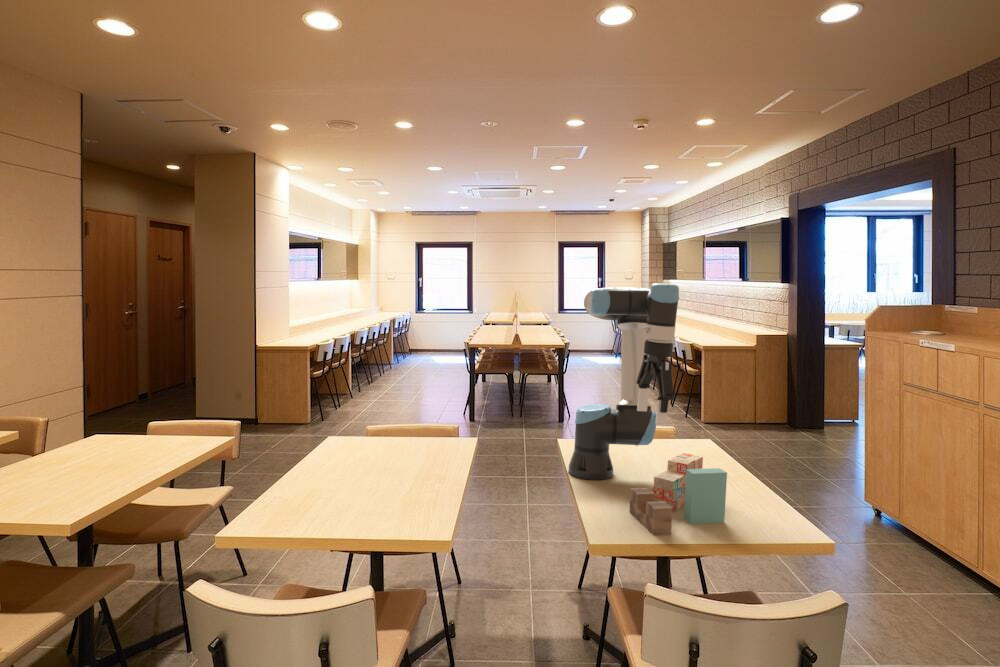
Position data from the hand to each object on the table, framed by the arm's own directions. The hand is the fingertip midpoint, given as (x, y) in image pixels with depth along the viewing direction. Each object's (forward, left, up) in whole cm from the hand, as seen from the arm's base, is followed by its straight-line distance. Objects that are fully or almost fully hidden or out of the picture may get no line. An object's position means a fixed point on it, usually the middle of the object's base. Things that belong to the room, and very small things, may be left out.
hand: (650, 417), depth 169 cm
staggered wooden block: (+4, -1, -28) cm, 29 cm away
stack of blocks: (-12, +15, -29) cm, 35 cm away
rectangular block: (+4, +15, -28) cm, 32 cm away
